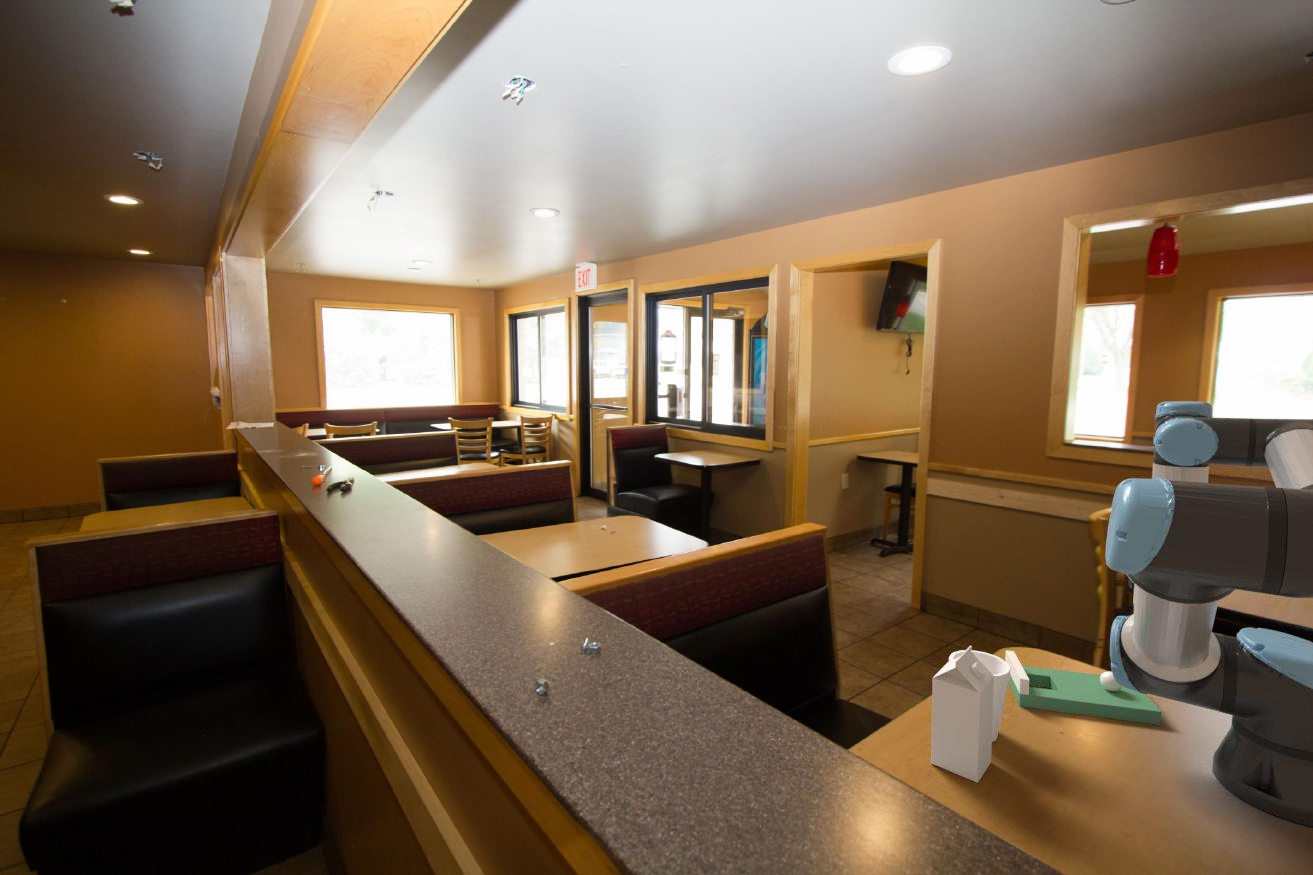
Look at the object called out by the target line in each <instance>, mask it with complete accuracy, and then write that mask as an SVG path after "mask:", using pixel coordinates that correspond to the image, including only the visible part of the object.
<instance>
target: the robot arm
mask: <svg viewBox="0 0 1313 875" xmlns="http://www.w3.org/2000/svg"><path fill="white" fill-rule="evenodd" d="M1155 410H1156V411H1155V412H1156V413H1155V416H1154V433H1153V440H1152V442H1153V459H1152V475H1151V478H1139V477H1138V478H1135V477H1134V478H1127V479H1123V480H1122V481H1121V482H1120V483H1119V484H1117V486H1116V487H1115V492H1114V494H1113V498H1112V502H1111V511H1110V512H1111V513H1110V515H1109V520H1108V525H1107V535H1106V540H1105V552H1104V553H1105V557H1104V558H1105V564H1106V566H1107V567H1108V568H1109V569H1110V570H1112V571H1116V572H1119V573H1121V574H1123V575H1126V576H1127V578H1128V586H1129V588H1130V589H1132V590H1133V602H1132V604H1133V614H1131V615H1118V616H1116V617H1115V618H1114V620H1113V622H1112V624H1111V628H1110V629H1111V630H1110V639H1109V658H1110V669H1111V672H1112V673H1113V676H1114V679H1115V680H1116V682H1117V683H1118V684H1120V685H1121V686H1123V687H1126V688H1129V689H1132V690H1135V691H1137V692H1139V693H1142V694H1146V695H1147V694H1148V695H1151V696H1156V697H1159V698H1164V699H1167V700H1172V701H1175V702H1180V703H1183V704H1187V705H1191V706H1196V707H1200V708H1203V709H1208V710H1211V711H1215V712H1218V713H1222V714H1223V713H1224V714H1227V715H1230V716H1232V717H1231V726H1230V728H1229V730H1228V731H1227V733H1226V734H1225V736H1224V737H1223V739H1222V741H1221V742H1220V743H1219V746H1218V748H1217V749H1216V750H1215V752H1214V754H1213V758H1212V773H1213V775H1214V778H1215V779H1216V780H1217V781H1218V782H1219V783H1220V784H1221V785H1222V786H1223V787H1224V788H1225V789H1226V790H1227V791H1229V792H1230V793H1231V794H1233V795H1234V796H1236V797H1237V798H1239V799H1241V800H1242V801H1244V802H1246V803H1247V804H1250V805H1252V806H1253V807H1255V808H1257V809H1259V810H1261V811H1263V812H1265V813H1269V814H1271V815H1274V816H1276V817H1279V818H1281V819H1284V820H1287V821H1291V822H1294V823H1297V824H1301V825H1305V826H1309V827H1313V642H1312V641H1311V640H1307V639H1304V638H1301V637H1299V636H1295V635H1292V634H1289V633H1286V632H1281V631H1279V630H1278V631H1277V630H1275V629H1274V630H1273V629H1268V628H1262V627H1258V628H1256V627H1255V628H1254V627H1244V628H1241V629H1240V630H1239V632H1237V633H1236V636H1231V635H1226V634H1223V633H1217V632H1213V628H1214V622H1215V619H1216V618H1215V617H1216V613H1217V609H1218V606H1219V602H1220V600H1223V599H1225V598H1227V597H1228V596H1230V595H1231V594H1232V593H1233V592H1235V591H1236V590H1239V591H1245V592H1251V593H1256V594H1257V593H1258V594H1259V593H1260V594H1266V595H1272V596H1280V597H1286V598H1291V599H1292V598H1294V599H1313V418H1312V419H1311V418H1310V419H1308V418H1306V419H1305V418H1302V419H1301V418H1300V419H1299V418H1247V417H1246V418H1245V417H1244V418H1243V417H1242V418H1241V417H1213V406H1212V404H1211V403H1210V402H1207V401H1193V400H1189V401H1188V400H1184V401H1183V400H1178V401H1177V400H1176V401H1175V400H1172V401H1162V402H1160V403H1158V404H1157V405H1156V409H1155ZM1210 465H1216V466H1232V467H1233V466H1235V467H1250V468H1251V467H1252V468H1253V467H1254V468H1255V467H1256V468H1268V469H1269V472H1270V475H1271V477H1272V480H1273V482H1274V486H1275V487H1273V486H1272V487H1271V486H1261V485H1260V486H1258V485H1244V484H1242V485H1240V484H1231V483H1230V484H1229V483H1228V484H1227V483H1215V482H1214V483H1212V482H1211V483H1210V482H1209V472H1210Z"/></svg>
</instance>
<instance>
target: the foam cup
mask: <svg viewBox="0 0 1313 875" xmlns="http://www.w3.org/2000/svg"><path fill="white" fill-rule="evenodd" d="M965 651H966V649H965V650H964V649H961V650H958V651H957V650H956V651H954V652H951V654H950V655H949V657H948V662H949V661H951V660H953V659H956V658H958V657H960V656H961V655H962V654H963V653H964V652H965ZM971 652H972V653H973V654H974V655H975V656H976V657H977V658H978V659H979V660H980V661H981V663H982V664H983V665H984V666H985V667H986V668H987V669H988V670H989V671H990V672H991V673H992V674H993V676H994V688H993V720H992V743H994V742H996V741H997V739H998V735H999V732H1000V727H1001V721H1002V716H1003V713H1004V706H1005V701H1006V696H1007V692H1008V686H1009V682H1010V667H1009V665H1008V664H1007V662H1005V660H1004V659H1002V658H1000V657H999V656H997V655H994V654H991V653H989V652H988V653H987V652H985V651H979V650H973V649H972V650H971Z"/></svg>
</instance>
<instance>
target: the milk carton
mask: <svg viewBox="0 0 1313 875" xmlns="http://www.w3.org/2000/svg"><path fill="white" fill-rule="evenodd" d="M965 650H966V651H965V652H964V653H963V654H962V655H961V656H960V657H958V658H956V659H953V660H951V661H949V660H948V661H947V662H946V664H944V665H943V667H942V668H940V670H938V672H937V673H935V675H934V676H933V677H932V687H931V688H932V694H931V699H932V700H931V701H932V702H931V738H930V739H931V740H930V742H931V744H930V746H931V747H930V752H931V753H930V764H931V765H932V764H933V765H935V766H937V767H939V768H941V769H944V770H946V771H949V772H951V773H953V774H956V775H958V776H960V777H962V778H965V779H967V780H970V781H972V782H974V783H976V784H977V783H979V782H980V781H981V778H982V777H983V776H984V774H985V772H986V771H987V770H988V767H989V766H990V765H991V762H992V750H993V749H992V748H993V747H992V746H993V742H992V720H993V688H994V676H993V674H992V673H991V672H990V671H989V670H988V669H987V668H986V667H985V666H984V665H983V664H982V663H981V661H980V660H979V659H978V658H977V657H976V656H975V655H974V654H973V653H972V652H971V650H973V646H972V645H969V646H968V647H967V648H966V649H965Z"/></svg>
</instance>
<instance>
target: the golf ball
mask: <svg viewBox="0 0 1313 875" xmlns="http://www.w3.org/2000/svg"><path fill="white" fill-rule="evenodd" d="M1100 675H1101V676H1100V682H1101V684H1102V686H1103V687H1104V688H1105V689H1107V690H1109V691H1118V690H1120V689H1121V688H1122V686H1121V685H1120V684H1118V683H1117V682H1116V680H1115V679H1114V676H1113V673H1112V671H1104V672H1103V673H1101V674H1100Z"/></svg>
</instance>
